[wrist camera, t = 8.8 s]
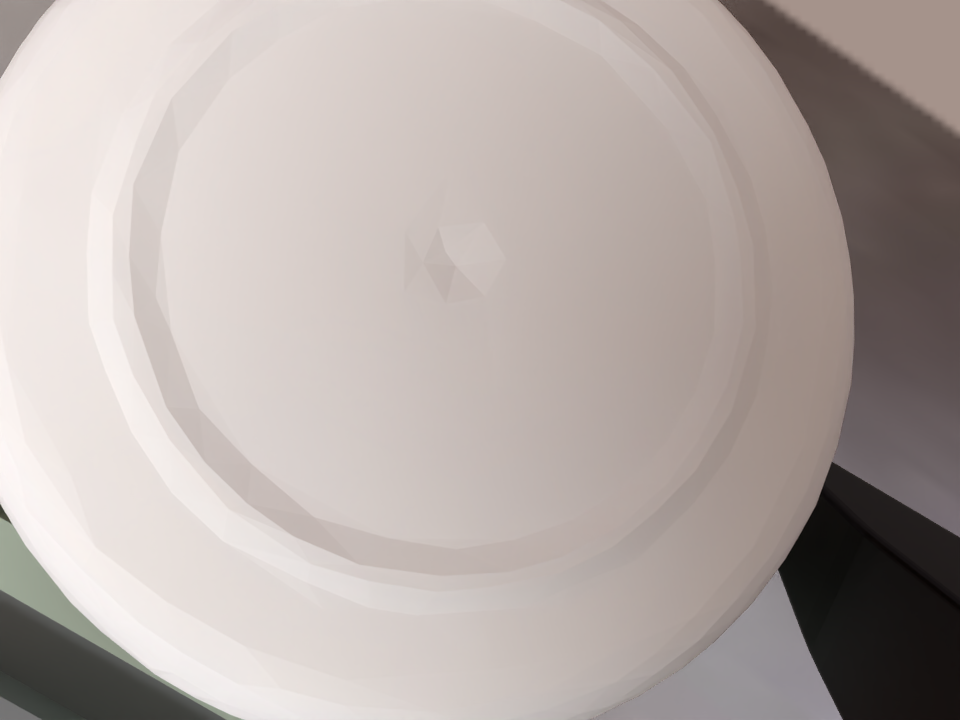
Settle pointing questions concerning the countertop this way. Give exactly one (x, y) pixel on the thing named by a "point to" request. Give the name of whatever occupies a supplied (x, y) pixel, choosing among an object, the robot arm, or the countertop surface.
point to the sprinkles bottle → (413, 343)
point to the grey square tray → (70, 656)
